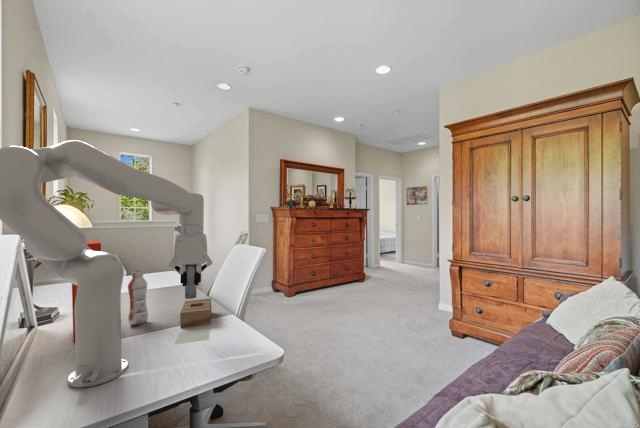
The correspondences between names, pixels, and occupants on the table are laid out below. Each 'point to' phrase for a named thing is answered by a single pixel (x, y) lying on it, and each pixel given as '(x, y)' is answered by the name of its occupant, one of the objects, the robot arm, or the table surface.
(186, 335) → the mat
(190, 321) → the hole block
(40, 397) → the table surface
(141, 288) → the plastic bottle
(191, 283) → the peg
